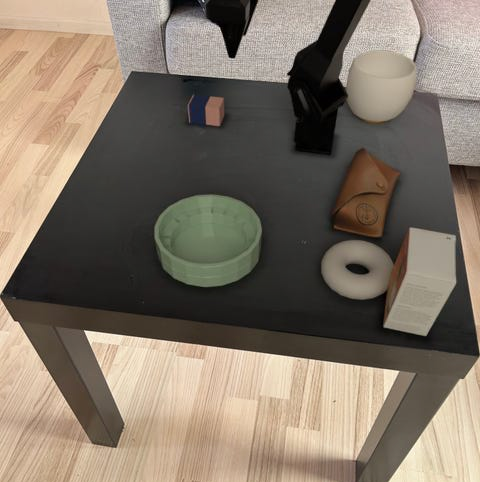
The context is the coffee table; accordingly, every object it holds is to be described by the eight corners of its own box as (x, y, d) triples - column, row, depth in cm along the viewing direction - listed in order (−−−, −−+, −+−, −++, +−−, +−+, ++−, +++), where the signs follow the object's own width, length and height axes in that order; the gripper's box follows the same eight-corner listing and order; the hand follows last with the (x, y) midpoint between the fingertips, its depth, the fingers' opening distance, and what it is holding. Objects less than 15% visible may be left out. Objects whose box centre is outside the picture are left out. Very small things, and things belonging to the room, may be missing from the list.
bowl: (268, 225, 73) (269, 201, 70) (249, 297, 64) (250, 274, 61) (175, 212, 75) (172, 188, 71) (145, 280, 66) (139, 257, 63)
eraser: (224, 115, 93) (224, 97, 90) (219, 126, 90) (219, 108, 87) (194, 112, 93) (193, 93, 90) (189, 123, 91) (187, 104, 88)
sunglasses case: (385, 238, 71) (370, 202, 67) (340, 246, 75) (324, 212, 71) (402, 170, 81) (390, 135, 77) (362, 180, 85) (349, 148, 81)
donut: (373, 316, 63) (402, 269, 68) (380, 300, 60) (409, 252, 65) (306, 285, 66) (338, 242, 71) (309, 268, 63) (342, 224, 68)
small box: (386, 283, 66) (408, 225, 57) (428, 291, 65) (457, 233, 57) (381, 328, 61) (405, 272, 53) (426, 338, 60) (457, 282, 52)
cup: (411, 133, 89) (427, 81, 81) (345, 132, 89) (355, 80, 81) (398, 99, 96) (412, 48, 89) (337, 99, 97) (345, 48, 89)
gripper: (201, -85, 78) (206, 21, 91) (167, -49, 67) (178, 66, 79) (268, -80, 77) (264, 26, 89) (245, -43, 66) (244, 72, 78)
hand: (237, 46), depth 84 cm, fingers open, 9 cm apart
